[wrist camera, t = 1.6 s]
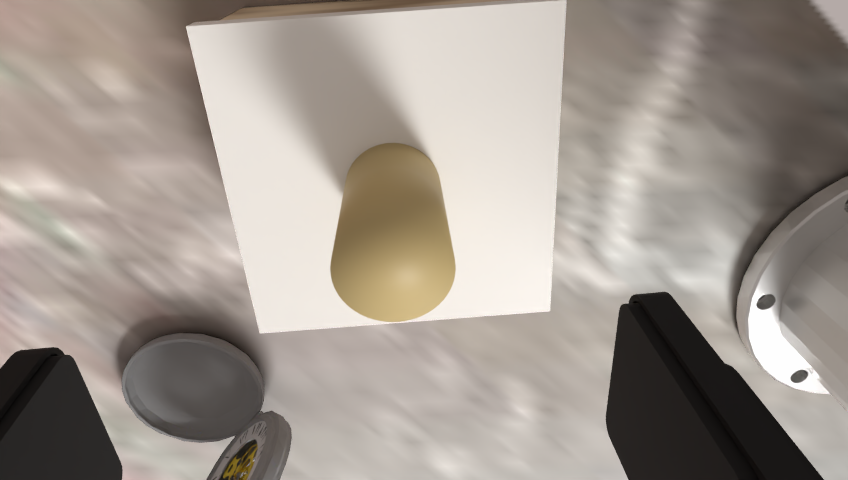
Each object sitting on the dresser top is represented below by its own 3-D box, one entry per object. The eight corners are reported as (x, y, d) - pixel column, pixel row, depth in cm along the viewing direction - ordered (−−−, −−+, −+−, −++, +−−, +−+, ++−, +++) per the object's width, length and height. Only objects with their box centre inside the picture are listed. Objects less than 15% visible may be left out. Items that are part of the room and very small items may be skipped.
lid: (558, -4, 17) (632, 27, 12) (544, 298, 22) (592, 413, 16) (194, 21, 17) (105, 64, 11) (264, 320, 21) (224, 442, 16)
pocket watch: (124, 318, 27) (-4, 507, 18) (307, 337, 28) (268, 523, 19) (136, 443, 31) (34, 649, 22) (296, 455, 32) (260, 657, 23)
